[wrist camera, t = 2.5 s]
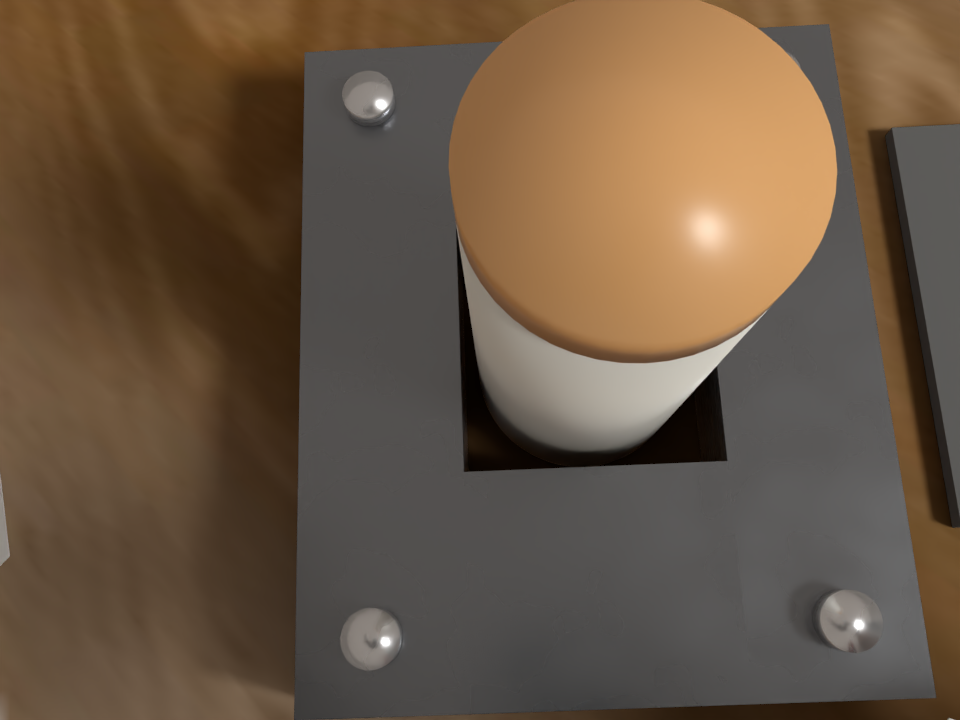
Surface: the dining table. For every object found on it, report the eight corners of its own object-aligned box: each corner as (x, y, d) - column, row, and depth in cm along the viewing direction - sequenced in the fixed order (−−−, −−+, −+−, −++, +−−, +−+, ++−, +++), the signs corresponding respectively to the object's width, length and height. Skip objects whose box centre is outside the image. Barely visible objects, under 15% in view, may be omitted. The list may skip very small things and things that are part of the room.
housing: (795, 83, 28) (836, 10, 24) (883, 684, 23) (948, 700, 20) (326, 107, 28) (299, 39, 25) (320, 704, 24) (287, 723, 20)
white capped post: (668, 271, 26) (809, -19, 14) (686, 462, 25) (864, 333, 12) (475, 280, 27) (443, 1, 14) (482, 471, 25) (454, 351, 13)
